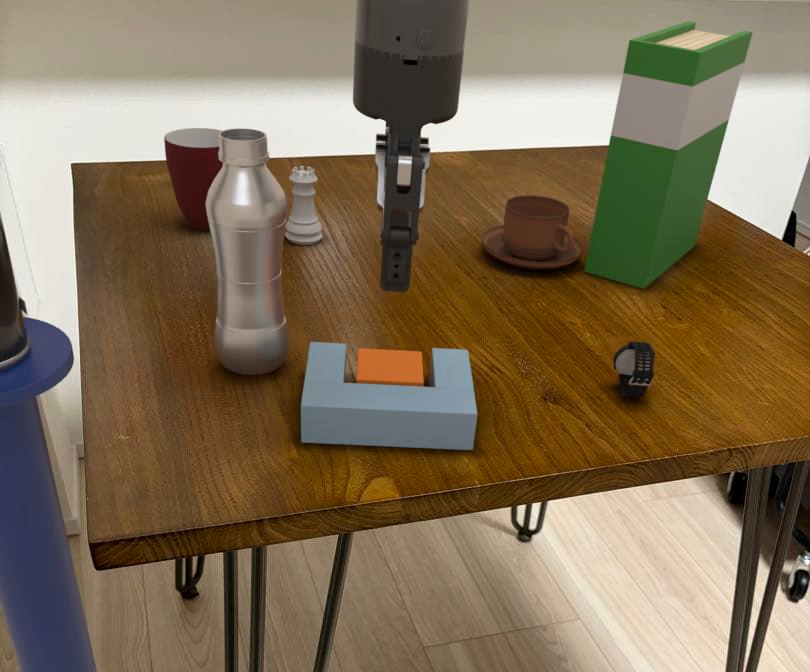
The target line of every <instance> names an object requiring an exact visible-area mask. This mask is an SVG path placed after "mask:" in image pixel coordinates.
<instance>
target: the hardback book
mask: <svg viewBox="0 0 810 672" xmlns="http://www.w3.org/2000/svg"><path fill="white" fill-rule="evenodd" d="M696 25H697V22H695V21H685V22H681V23H679V24H675V25H672V26H670V27H666V28H663V29H660V30H657V31H653V32H650V33H647V34H643V35H641V36H638V37H633V38H632V39H629V41H628V45H627V51H626V55H625V56H626V57H625V60H624V66H623V71H622V77H621V81H620V87H619V92H618V97H617V102H616V106H615V107H616V108H615V112H614V117H613V122H612V126H611V127H612V128H611V132H610V136H609V137H610V138H609V143H608V148H607V152H606V158H605V163H604V168H603V172H602V177H601V182H600V183H601V184H600V189H599V193H598V194H599V195H598V198H597V203H596V209H595V212H594V213H595V214H594V220H593V224H592V229H591V234H590V239H589V245H588V249H587V253H586V260H585V265H584V269H583V272H584V273H587V274H591V275H595V276H598V277H601V278H605V279H609V280H612V281H615V282H617V283H618V282H619V283H621V284H625V285H629V286H632V287H636V288H639V289H641V290H644V289H646V288H647V287H648V286H649V285H650V284H652V282H654V281H655V280H657V278H659V277H660V276H662V274H663V273H665V272H666V271H667V270H668V269H670V268H671V267H672V266H673V265H674V264H675V263H677V262H678V261H679V260H680V259H681V258H683V256H685V255H686V254H688V252H690V250H692V249H693V248H694V247H695V246H696V243H697V239H698V236H699V232H700V228H701V224H702V221H703V217H704V213H705V209H706V207H707V202H708V198H709V194H710V192H711V191H710V190H711V188H712V185H713V180H714V177H715V174H716V169H717V165H718V161H719V158H720V154H721V150H722V146H723V143H724V140H725V136H726V132H727V128H728V126H729V121H730V117H731V114H732V110H733V106H734V103H735V99H736V96H737V92H738V88H739V85H740V81H741V78H742V73H743V69H744V66H745V63H746V59H747V54H748V52H749V47H750V44H751V40H752V36H753V33H754V32H753V31H750V30H742V31H740V32H737V33H734V34H732V35H726V34H719V33H714V32H707V31H702V30H696Z"/></svg>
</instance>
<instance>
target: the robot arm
mask: <svg viewBox="0 0 810 672" xmlns="http://www.w3.org/2000/svg"><path fill="white" fill-rule="evenodd" d="M469 2H470V0H356V4H355V30H354V32H355V33H354V58H353V80H352V81H353V85H352V86H353V87H352V104H353V107H354V108H355V110H356V111H358V112H359V113H360V114H361V115H363V116H365V117H367V118H370V119H373V120H382V121H384V122H385V130H384V133H375V149H374V150H375V151H374V169H375V171H376V181H377V185H376V186H377V187H376V203H375V204H376V209H377V210H378V211H379V212H381V225H380V229H379V238H380V245H381V247H382V248H381V261H380V262H381V265H380V277H379V279H380V280H379V281H380V282H379V284H380V285H379V286H380V288H381V290H383V291H384V292H394V293H395V292H396V293H405V292H407V291H408V290H409V289H410V286H411V285H410V284H411V272H412V262H413V261H412V260H413V247H414V246H417V242H418V241H419V239H420V232H419V231H418V230H419V218H420V214H421V213H422V212H423V211H424V210H423V209H424V205H425V197H426V196H425V195H426V194H425V193H426V177H427V176H426V175H427V174H428V172H429V169H430V162H431V147H429V146H430V138H429V137H426V136H422V129H423V127H425V126H427V125H429V124H433V125H439V124H442V123H446V122H449V121H450V120H452V119H453V118H454V117H456V115H457V113H458V110H459V104H460V103H459V102H460V94H461V93H460V92H461V83H462V73H463V66H464V56H465V55H464V54H465V45H466V36H467V28H468V27H467V26H468V19H469V17H468V16H469V6H470V5H469V4H470V3H469ZM23 313H24V314H26V316H29V315H28V310H27V306H26V301H25V300H24V299H23V298H21V297H20V296H19V291H18V286H17V281H16V278H15V273H14V268H13V264H12V259H11V255H10V250H9V245H8V241H7V236H6V232H5V227H4V223H3V217H2V213H1V212H0V373H1V372H4V371H7V370H9V369H11V368H14V367H16V366H17V365H19V364H20V363H22V362H23V361H24V360H25V359H26V358H27V357H28V356H29V354H30V352H31V345H30V341H29V337H28V335H27V330H26V326H25V323H24V319H23V317H24V314H23Z"/></svg>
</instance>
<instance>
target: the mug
mask: <svg viewBox="0 0 810 672" xmlns="http://www.w3.org/2000/svg"><path fill="white" fill-rule="evenodd" d="M221 131H222V130H221V129H216V128H206V127H189V128H180V129H176V130H172V131H169V132H168V133H165V135H164V138H163V140H164V141H163V142H164V152H165V153H164V154H165V161H166V166H167V170H168V175H169V178H170V182H171V185H172V189H173V192H174V197H175V200H176V203H177V206H178V208H179V210H180V212H181V213H182V215H183V216H184V218H185V219H186V220H185V221H186V222H187V223H188V224H189V226H190V227H191V228H192V229H195V230H198V231H210V227H209V222H208V217H207V211H206V204H205V203H206V199H207V194H208V191H209V189H210V187H211V185H212V183H213V181H214V179H215V177H216V176H217V174H218V173H219V171H220V170H221V168H222V167H223V162H221V161H220V160H219V155H218V152H219V138H218V137H219V133H220V132H221Z"/></svg>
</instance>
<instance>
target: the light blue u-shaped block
mask: <svg viewBox="0 0 810 672" xmlns="http://www.w3.org/2000/svg"><path fill="white" fill-rule="evenodd" d="M307 353H308V355H307V360H306V367H305V374H304V381H303V386H302V387H303V388H302V396H301V402H300V442H301V443H302V444H303V443H304V444H305V443H306V444H324V445H325V444H326V445H347V446H367V447H368V446H373V447H391V448H410V449H411V448H414V449H434V450H457V451H473V450H474V444H475V436H476V429H477V421H478V407H477V402H476V395H475V389H474V388H475V387H474V381H473V374H472V367H471V362H470V354H469V349H462V348H461V349H458V348H442V347H441V348H439V347H432V348H431V359H430V368H429V379H428V386H423V387H420V386H400V385H380V384H359V383H355V382H346V376H347V375H346V374H347V373H346V372H347V344H346V343H341V342H338V343H337V342H323V341H319V342H318V341H310V342H309V348H308V352H307Z"/></svg>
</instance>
